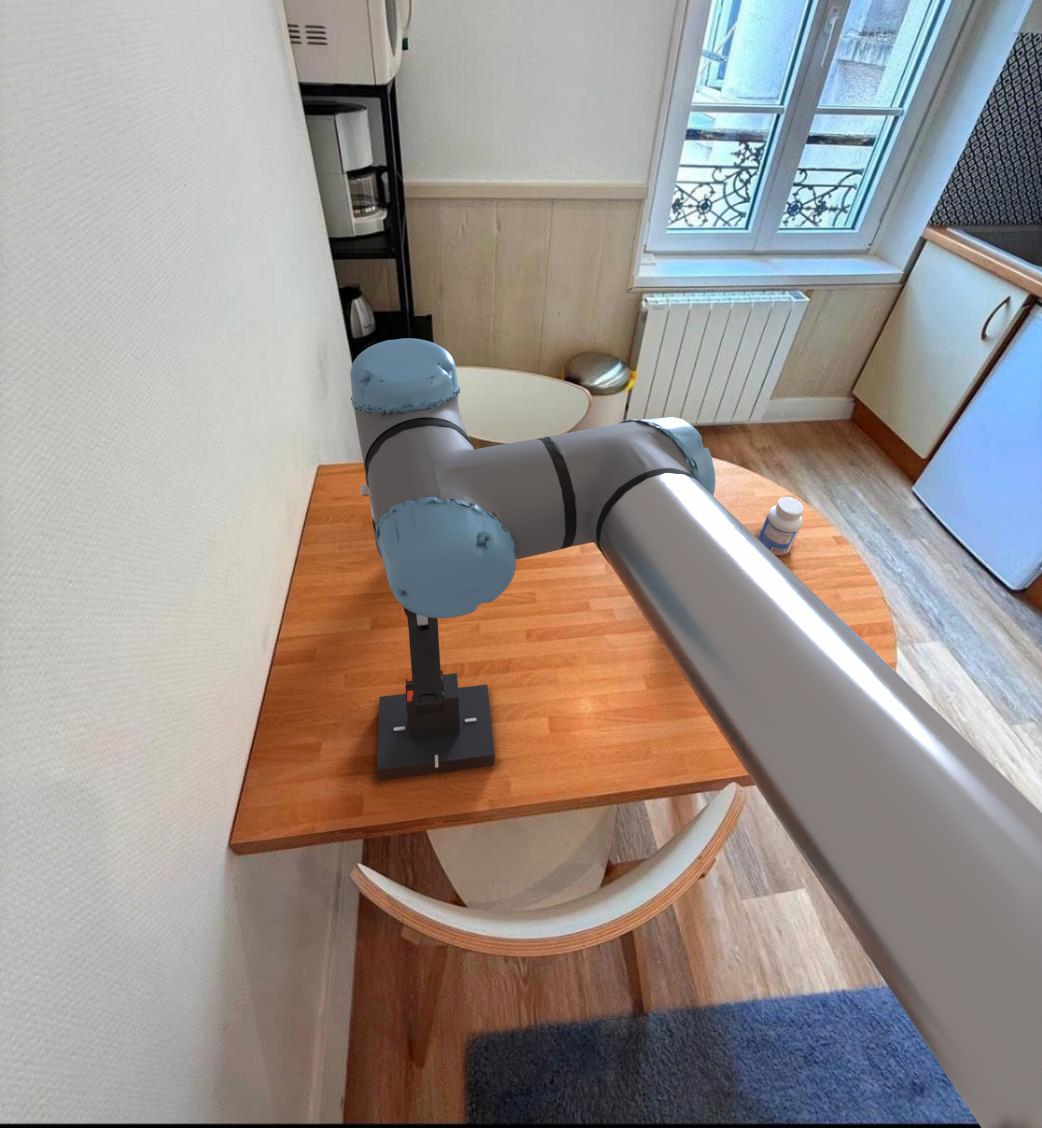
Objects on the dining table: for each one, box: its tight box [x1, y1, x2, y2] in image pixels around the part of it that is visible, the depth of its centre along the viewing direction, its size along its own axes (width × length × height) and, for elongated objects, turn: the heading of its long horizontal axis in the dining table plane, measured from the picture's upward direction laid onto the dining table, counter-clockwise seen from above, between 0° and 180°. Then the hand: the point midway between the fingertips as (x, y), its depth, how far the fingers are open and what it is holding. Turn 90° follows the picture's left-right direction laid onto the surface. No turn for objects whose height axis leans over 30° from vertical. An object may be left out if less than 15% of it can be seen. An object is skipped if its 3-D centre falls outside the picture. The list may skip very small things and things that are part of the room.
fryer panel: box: [376, 684, 496, 781], centre depth 77 cm, size 10×14×3 cm
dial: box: [405, 672, 460, 740], centre depth 73 cm, size 6×3×9 cm, turn 98°
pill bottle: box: [757, 496, 804, 556], centre depth 103 cm, size 6×5×10 cm
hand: (429, 648), depth 65 cm, fingers open, 13 cm apart
